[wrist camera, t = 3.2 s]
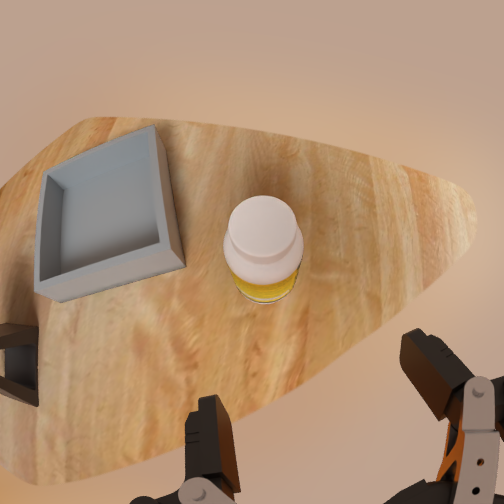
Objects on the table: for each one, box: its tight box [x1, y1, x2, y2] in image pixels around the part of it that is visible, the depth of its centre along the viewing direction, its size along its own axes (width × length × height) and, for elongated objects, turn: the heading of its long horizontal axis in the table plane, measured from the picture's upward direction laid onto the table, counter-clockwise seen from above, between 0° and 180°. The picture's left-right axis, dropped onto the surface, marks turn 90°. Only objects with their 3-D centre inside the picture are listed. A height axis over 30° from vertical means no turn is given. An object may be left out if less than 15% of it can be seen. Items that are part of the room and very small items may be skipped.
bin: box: [34, 125, 186, 303], centre depth 27 cm, size 15×15×4 cm
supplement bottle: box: [223, 195, 304, 304], centre depth 22 cm, size 5×5×10 cm
